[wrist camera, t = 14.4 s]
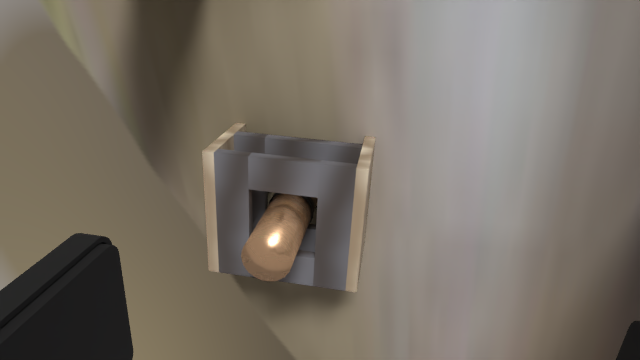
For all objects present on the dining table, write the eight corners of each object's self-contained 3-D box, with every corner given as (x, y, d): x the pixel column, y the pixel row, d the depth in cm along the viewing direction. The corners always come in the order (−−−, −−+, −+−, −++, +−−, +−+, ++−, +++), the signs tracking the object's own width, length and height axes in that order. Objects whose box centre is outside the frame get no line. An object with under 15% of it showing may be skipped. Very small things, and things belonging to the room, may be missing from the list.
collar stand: (375, 137, 45) (368, 169, 37) (364, 243, 50) (356, 292, 42) (235, 122, 47) (202, 151, 39) (238, 227, 52) (208, 270, 44)
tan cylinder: (324, 169, 47) (293, 239, 34) (322, 206, 49) (292, 285, 36) (283, 164, 48) (239, 232, 35) (283, 201, 49) (240, 278, 37)
